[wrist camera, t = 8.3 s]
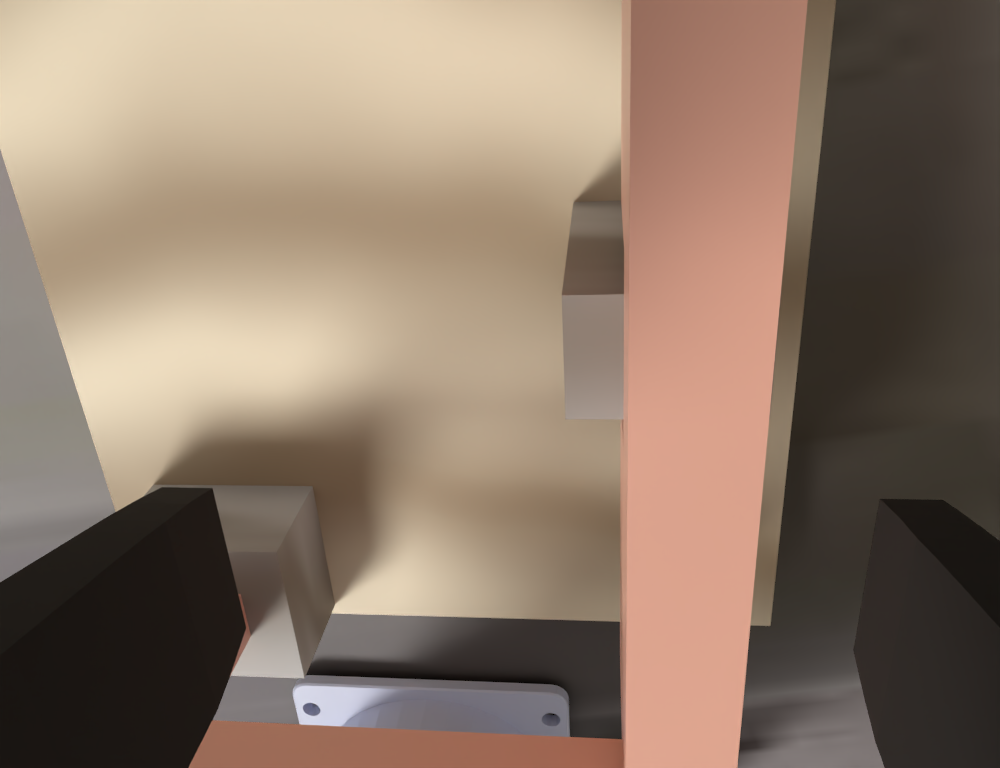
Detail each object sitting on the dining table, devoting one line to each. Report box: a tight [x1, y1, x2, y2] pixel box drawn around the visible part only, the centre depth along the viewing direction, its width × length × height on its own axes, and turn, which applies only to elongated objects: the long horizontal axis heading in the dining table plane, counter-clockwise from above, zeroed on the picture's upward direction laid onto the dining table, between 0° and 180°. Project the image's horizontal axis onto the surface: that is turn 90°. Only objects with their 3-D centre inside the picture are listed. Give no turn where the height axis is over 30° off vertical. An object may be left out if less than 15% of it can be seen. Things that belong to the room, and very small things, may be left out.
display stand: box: [0, 0, 836, 678], centre depth 16 cm, size 19×16×6 cm
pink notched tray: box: [189, 0, 808, 768], centre depth 13 cm, size 16×11×5 cm
